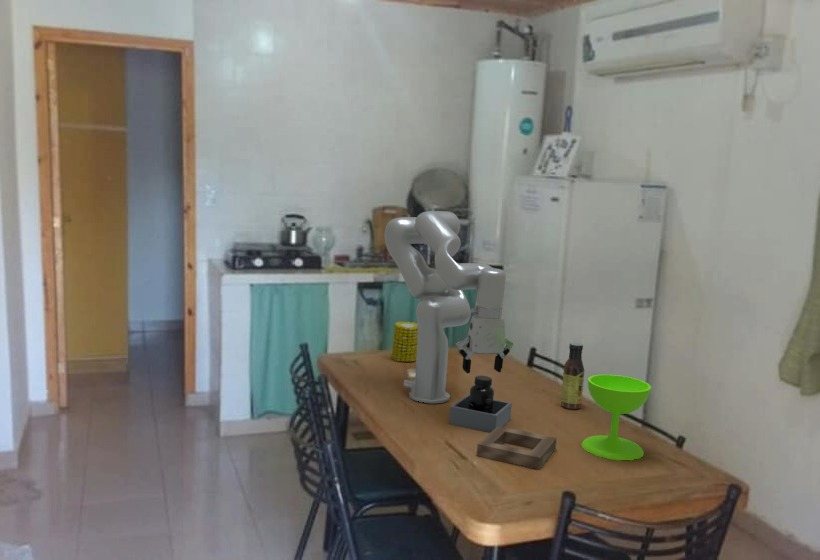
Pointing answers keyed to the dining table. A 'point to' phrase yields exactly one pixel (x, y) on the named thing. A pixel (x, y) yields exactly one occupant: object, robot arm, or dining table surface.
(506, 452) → the socket block
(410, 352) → the food
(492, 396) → the supplement bottle
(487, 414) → the bin
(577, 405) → the sauce bottle
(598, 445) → the wineglass
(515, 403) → the dining table surface
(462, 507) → the dining table surface
